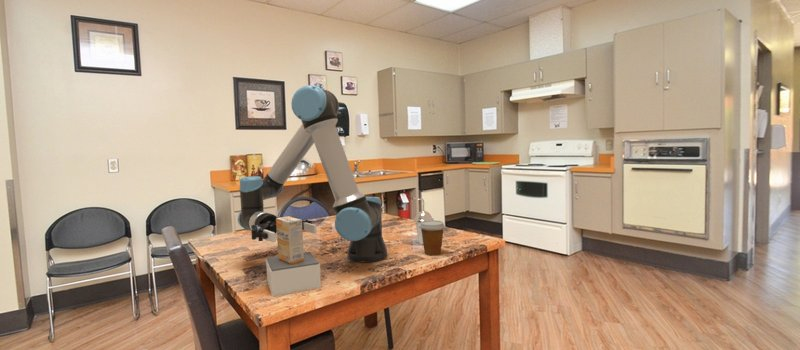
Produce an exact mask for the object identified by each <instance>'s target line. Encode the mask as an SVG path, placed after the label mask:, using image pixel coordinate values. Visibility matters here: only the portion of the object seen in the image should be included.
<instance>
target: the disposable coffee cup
mask: <svg viewBox="0 0 800 350" xmlns="http://www.w3.org/2000/svg"><path fill="white" fill-rule="evenodd" d="M445 226H446V225H445V224H444V222H443V221H441V220H434V219H433V220H430V221H423V222H421V225H420V227H421V231H422V238H423V245H422V246H423V250H424V251H423V252H424V254H425V255H426V256H438V255H440V254H442V245H443V236H444V229H445Z"/></svg>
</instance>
